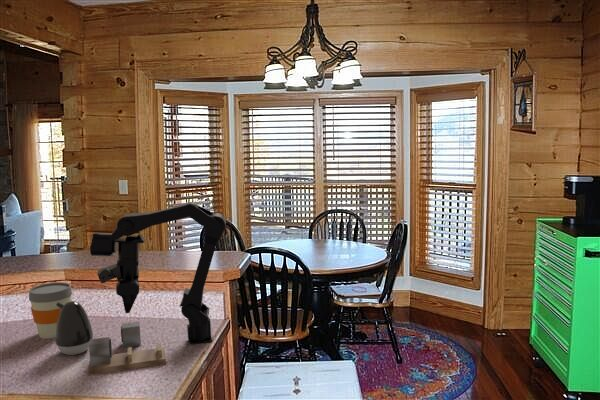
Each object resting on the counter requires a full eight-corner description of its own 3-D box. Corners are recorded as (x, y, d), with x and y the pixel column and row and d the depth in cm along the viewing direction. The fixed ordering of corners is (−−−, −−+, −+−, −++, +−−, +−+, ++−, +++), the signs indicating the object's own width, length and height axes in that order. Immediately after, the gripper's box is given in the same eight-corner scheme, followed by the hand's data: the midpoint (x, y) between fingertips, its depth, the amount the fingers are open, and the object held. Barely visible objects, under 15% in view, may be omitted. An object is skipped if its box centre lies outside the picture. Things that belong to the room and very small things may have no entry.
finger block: (140, 340, 165) (139, 321, 165) (140, 345, 162) (139, 326, 161) (122, 342, 164) (120, 323, 163) (121, 347, 160) (120, 328, 159)
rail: (164, 352, 156) (162, 327, 155) (166, 363, 148) (164, 337, 147) (90, 362, 150) (88, 337, 149) (88, 375, 143) (86, 348, 142)
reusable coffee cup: (83, 330, 175) (79, 285, 173) (47, 343, 164) (43, 296, 162) (60, 323, 182) (56, 280, 180) (24, 336, 171) (19, 290, 169)
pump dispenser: (73, 342, 165) (69, 294, 163) (101, 346, 161) (97, 297, 159) (48, 356, 155) (43, 305, 153) (77, 360, 152) (72, 308, 150)
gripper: (101, 249, 165) (100, 299, 167) (97, 265, 148) (96, 320, 150) (138, 249, 169) (138, 297, 171) (139, 264, 151) (138, 318, 153)
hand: (127, 307), depth 161 cm, fingers open, 9 cm apart
